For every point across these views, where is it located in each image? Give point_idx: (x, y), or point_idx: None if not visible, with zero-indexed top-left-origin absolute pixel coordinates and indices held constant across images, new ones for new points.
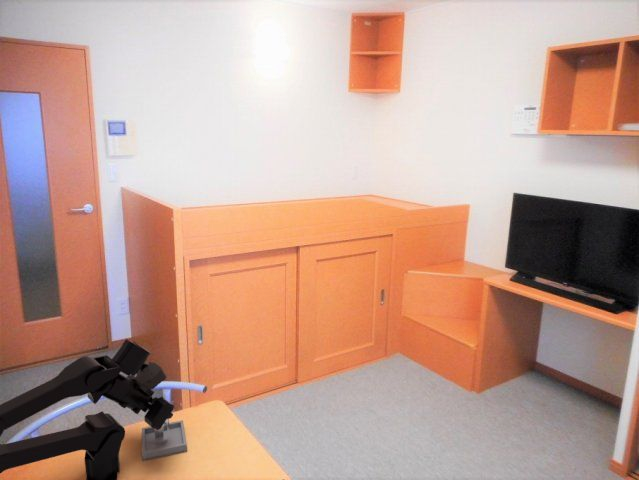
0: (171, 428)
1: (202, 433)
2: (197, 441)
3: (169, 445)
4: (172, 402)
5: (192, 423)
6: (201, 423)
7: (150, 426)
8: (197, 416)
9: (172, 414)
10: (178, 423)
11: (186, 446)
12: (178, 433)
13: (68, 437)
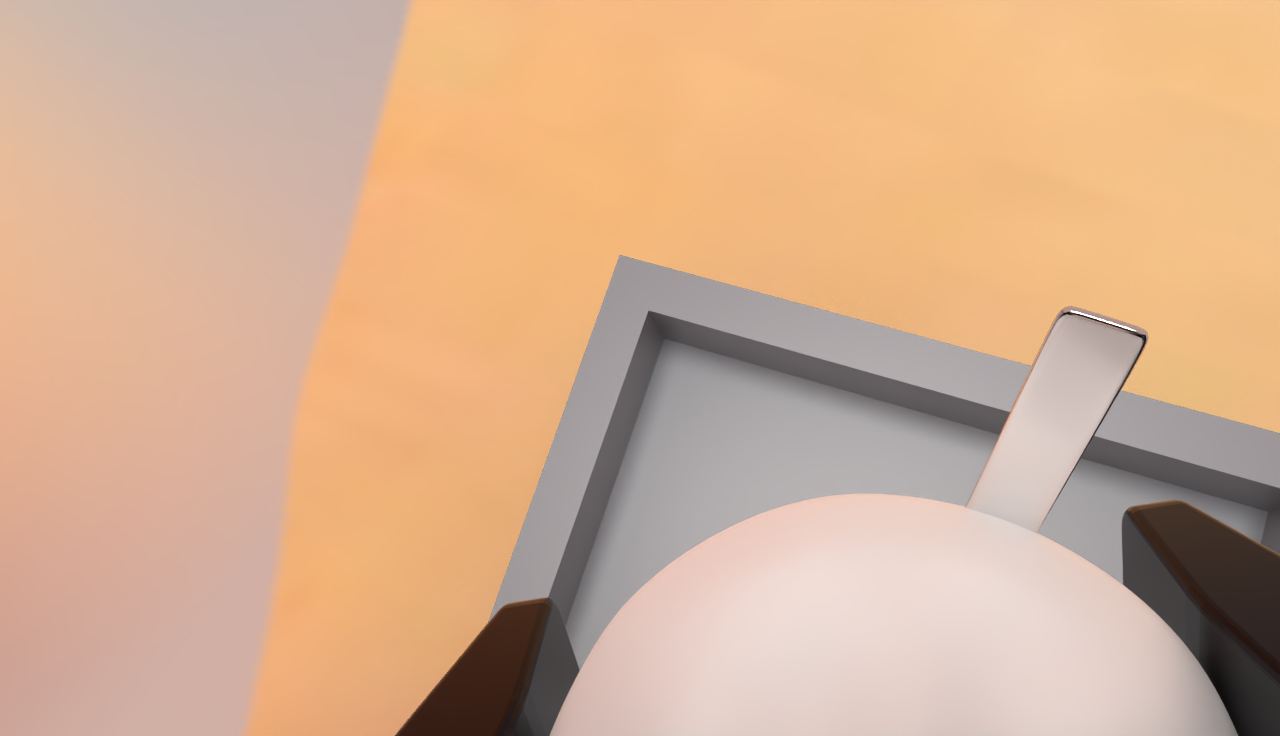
0: (613, 478)
1: (989, 117)
2: (1145, 250)
3: None
4: (1105, 361)
5: (655, 155)
6: (740, 46)
7: None
8: (542, 38)
9: (1204, 529)
10: (638, 348)
11: None
12: (807, 432)
13: None
